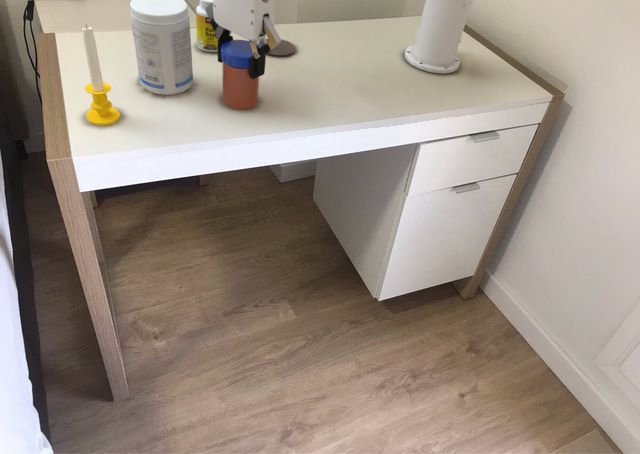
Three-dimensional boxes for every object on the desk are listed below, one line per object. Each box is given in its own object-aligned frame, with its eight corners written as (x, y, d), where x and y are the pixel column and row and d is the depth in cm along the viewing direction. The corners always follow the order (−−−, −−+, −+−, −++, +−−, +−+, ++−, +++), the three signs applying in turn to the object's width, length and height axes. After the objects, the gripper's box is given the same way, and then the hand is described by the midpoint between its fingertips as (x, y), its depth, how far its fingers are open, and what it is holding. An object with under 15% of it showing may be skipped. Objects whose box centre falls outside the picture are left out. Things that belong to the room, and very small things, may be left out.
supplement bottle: (203, 55, 105) (202, 4, 98) (192, 43, 109) (190, -7, 102) (228, 51, 108) (229, 2, 101) (217, 40, 111) (216, -9, 104)
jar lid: (240, 46, 92) (240, 36, 91) (269, 60, 90) (270, 50, 88) (212, 57, 88) (212, 46, 87) (242, 72, 85) (242, 61, 84)
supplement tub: (185, 69, 100) (181, -9, 90) (199, 93, 94) (196, 13, 84) (134, 74, 96) (123, -7, 86) (145, 99, 91) (135, 16, 81)
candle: (83, 111, 85) (62, 18, 75) (115, 106, 88) (100, 15, 77) (91, 128, 82) (71, 33, 72) (124, 122, 85) (109, 29, 74)
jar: (239, 88, 98) (240, 39, 91) (264, 101, 95) (267, 52, 89) (215, 99, 94) (214, 49, 87) (240, 114, 91) (242, 63, 85)
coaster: (275, 37, 116) (275, 35, 116) (302, 50, 113) (302, 48, 113) (250, 47, 111) (250, 44, 111) (278, 60, 108) (279, 58, 108)
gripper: (303, -28, 77) (292, 80, 89) (220, -61, 83) (220, 44, 96) (270, -19, 72) (263, 94, 84) (185, -54, 79) (190, 56, 91)
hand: (241, 67), depth 90 cm, fingers closed on jar lid, 6 cm apart
